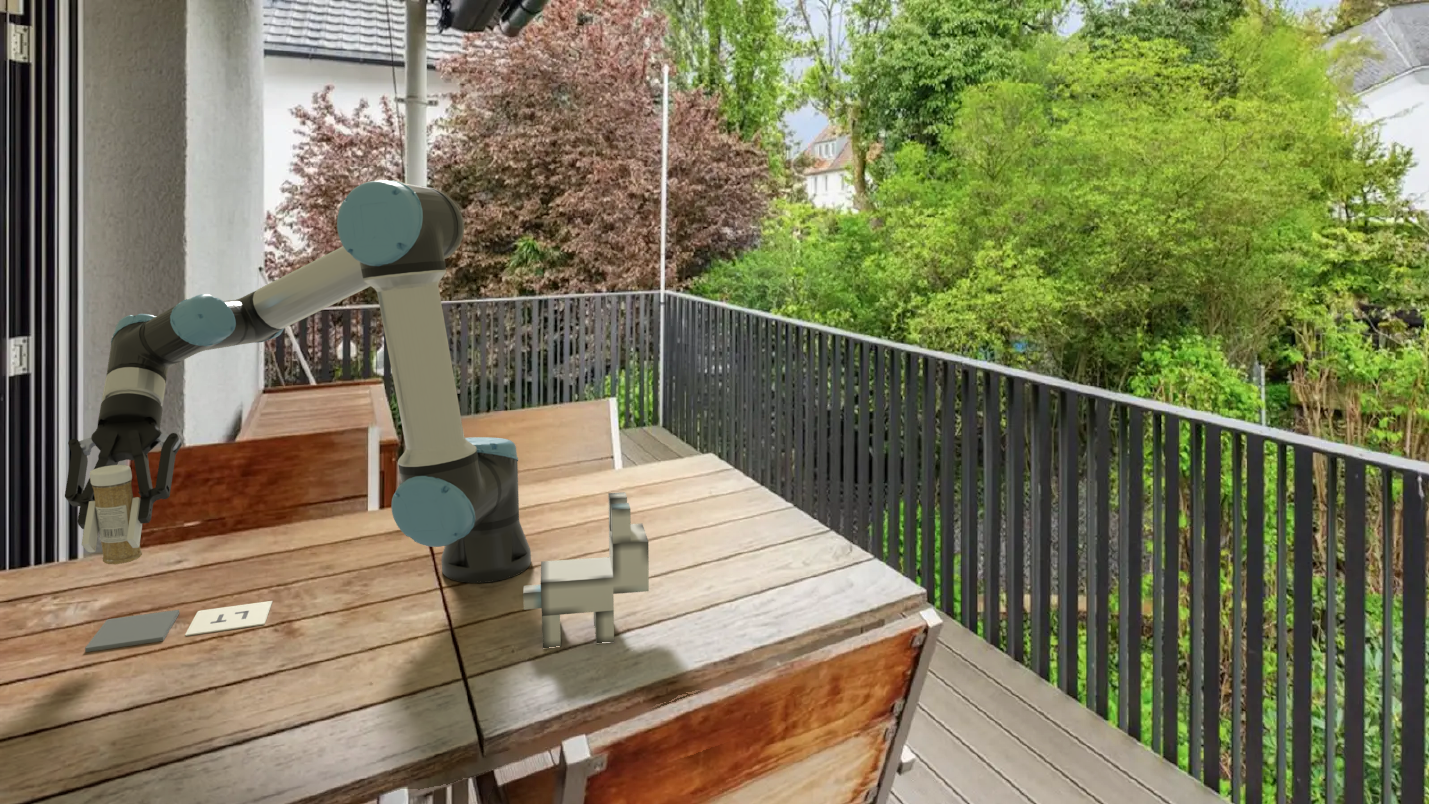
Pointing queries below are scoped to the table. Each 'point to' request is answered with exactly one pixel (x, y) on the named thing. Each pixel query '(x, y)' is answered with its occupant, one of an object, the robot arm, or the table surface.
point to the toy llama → (593, 578)
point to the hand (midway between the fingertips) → (110, 545)
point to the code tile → (229, 618)
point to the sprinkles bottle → (114, 512)
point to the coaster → (133, 630)
